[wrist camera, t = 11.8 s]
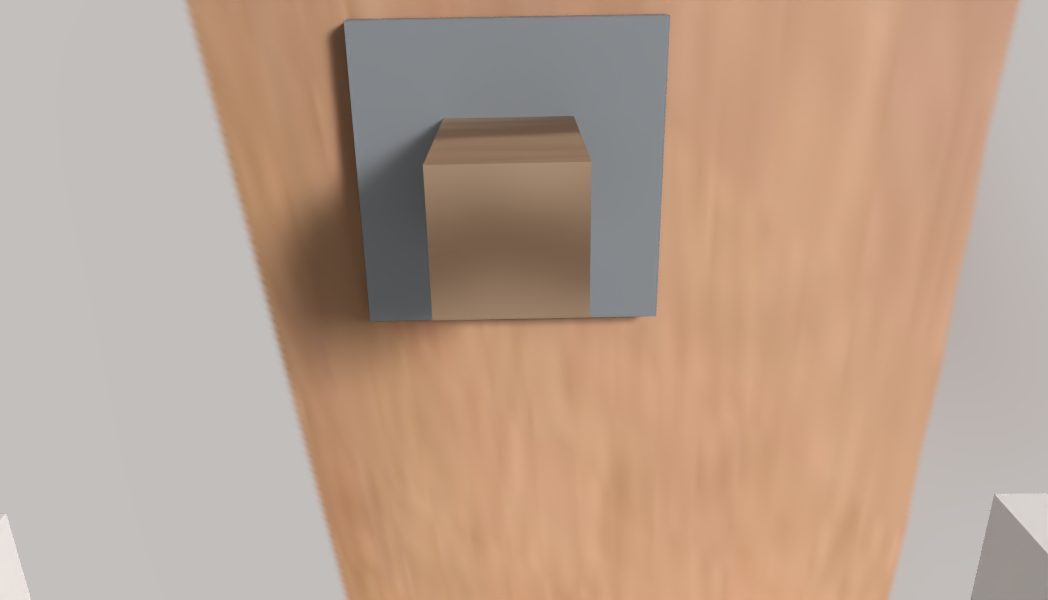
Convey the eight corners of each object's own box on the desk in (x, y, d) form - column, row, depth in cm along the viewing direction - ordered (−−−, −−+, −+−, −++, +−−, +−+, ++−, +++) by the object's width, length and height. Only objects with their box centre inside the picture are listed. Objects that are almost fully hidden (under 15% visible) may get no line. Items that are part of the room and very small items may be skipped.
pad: (348, 19, 32) (343, 21, 31) (665, 14, 32) (669, 15, 31) (373, 312, 37) (370, 321, 36) (652, 307, 37) (656, 316, 36)
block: (443, 118, 33) (422, 165, 25) (573, 115, 33) (591, 161, 25) (449, 242, 35) (432, 320, 27) (573, 240, 35) (589, 316, 27)
